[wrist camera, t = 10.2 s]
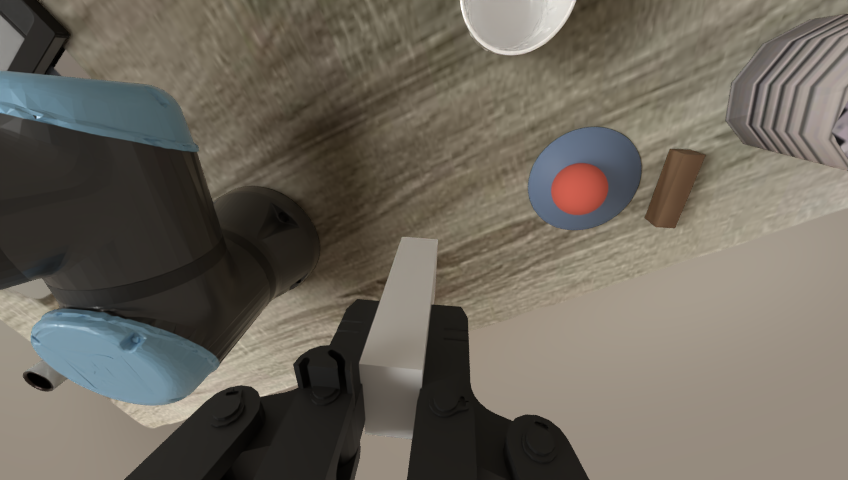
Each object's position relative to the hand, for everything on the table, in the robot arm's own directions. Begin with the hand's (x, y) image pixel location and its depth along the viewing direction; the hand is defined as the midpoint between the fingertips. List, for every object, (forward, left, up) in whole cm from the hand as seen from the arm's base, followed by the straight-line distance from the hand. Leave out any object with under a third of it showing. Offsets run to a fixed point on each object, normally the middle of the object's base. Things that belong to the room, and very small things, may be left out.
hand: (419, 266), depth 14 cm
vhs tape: (-50, +9, -27) cm, 57 cm away
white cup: (+5, +12, -26) cm, 29 cm away
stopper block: (+25, -4, -26) cm, 36 cm away
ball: (+14, -4, -23) cm, 27 cm away
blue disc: (+16, -4, -26) cm, 30 cm away
